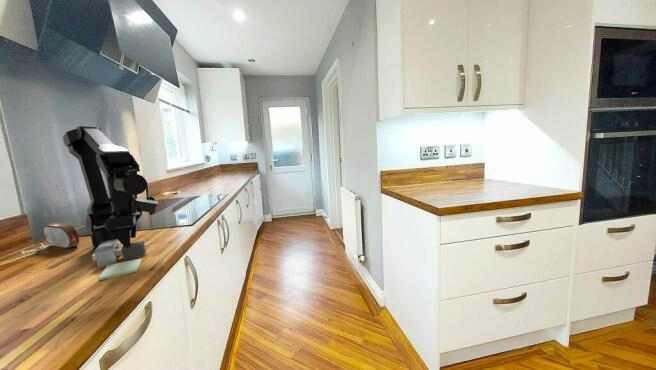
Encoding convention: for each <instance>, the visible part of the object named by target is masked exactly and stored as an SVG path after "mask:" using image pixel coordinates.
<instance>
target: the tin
mask: <svg viewBox="0 0 656 370" xmlns="http://www.w3.org/2000/svg"><path fill="white" fill-rule="evenodd" d="M42 229H43V230H42V233H44V237H45V240H46V242H47V243H48V244H49V245H50V246H52V247H54V248H61V249H71V248H73V247H76V246H79V245H80V244H79V243H80V235H79V234H78V231H77V230H76V228H75V227H74V226H73V225H71V224H69V223H63V222H55V221H54V222H52V223H49V224H46V225H44V226H43V228H42Z"/></svg>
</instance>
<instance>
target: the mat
mask: <svg viewBox="0 0 656 370" xmlns="http://www.w3.org/2000/svg"><path fill="white" fill-rule="evenodd" d="M142 262H143V258H141V257H140V258H138V259H132V260H127V261H122V262H117V263H115V264H111V265H106V267H104V270H103V271H102V273H101V274H100V275H99V277H98V281H102V280H107V279H112V278H115V277H116V278H117V277H120V276H124V275H128V274H132V273H137V272H139V271H140V267H141V266H142Z"/></svg>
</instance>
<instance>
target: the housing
mask: <svg viewBox="0 0 656 370" xmlns="http://www.w3.org/2000/svg"><path fill="white" fill-rule="evenodd" d="M121 246H122V245H121V242H120V241H119V240H118V239H115V240H110V241H104V242H102V243H101V244H100V245H99V246H98V247H97V249H94V254H95V255H96V260H95V261H96V265H97V268H101V267H105V266H107V265H112V264H117V263H118V259H117V256H116V253H115V250H116V249H121V248H122V247H121Z"/></svg>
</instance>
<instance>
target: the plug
mask: <svg viewBox="0 0 656 370" xmlns="http://www.w3.org/2000/svg"><path fill="white" fill-rule="evenodd" d="M147 249H148V245H146V244H145V241H144V240H140V241H136V242H131V243H130V247H128V248H125V247H124V246H123V245H122V247H121V249H116V250H115V253H116V257H120V256H122V258H123V260H128V259H134V258H138V257H143V256H145V254H146V252H147ZM91 257H92V262H93V261H97V260H96V255H95V253H92V256H91Z"/></svg>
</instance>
